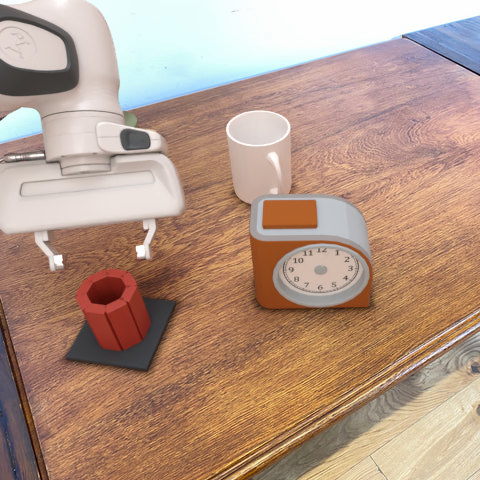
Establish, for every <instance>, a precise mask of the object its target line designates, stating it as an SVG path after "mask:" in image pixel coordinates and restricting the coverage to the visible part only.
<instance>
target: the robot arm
mask: <svg viewBox="0 0 480 480" xmlns="http://www.w3.org/2000/svg"><path fill="white" fill-rule="evenodd" d="M105 18H106V17H105V16H104V15H103V13H102V12H101V11H100V10H99V8H97V7H96V6H95V5H94V4H92V3H91V2H89V1H87V0H30V1H26V2H23V3H15V4H2V3H0V122H1V121H2V120H3V119H5V118H6V117H7V116H8V115H10V114H12V113H14V112H16V111H18V110H20V109H21V108H23V109H24V108H25V109H33V110H35V111H36V112H37V113H38V114H39V117H40V124H41V132H42V140H43V147H44V149H39V150H37V149H36V150H29V151H24V152H8V153H4V154H3V157H1V158H0V231H1V232H2V233H3V234H4V235H7V236H20V235H30V234H34V241H35V244H36V245H37V246H38V248H39V249H40V250H41V251H42V252H43V253H44V255H45V256H46V257H48V264H49V270H50V272H52V273H53V272H61V271H68V270H69V268H70V267H69V266H70V265H69V262H68V261H69V258H68V254H67V253H66V254H60V253H59V251H58V250H57V249H56V248H55V246H54V244H52V243H51V242H54V241H55V240H56V238H55V231H64V230H73V229H84V228H92V227H102V226H110V225H119V224H127V223H128V224H129V223H137V222H142V227H143V230H144V231H145V230H146V231H147V234H146V236H145V238H144V240H143V243H142V244H140V245H135V252H136V253H137V254H136V258H137V261H138V262H140V261H148V260H153V250H152V244H154V243H153V242H154V240H155V238H156V236H157V234H158V231H159V230H160V227H159V221H158V220H163V219H173V218H181V217H182V216H183V215H184V214H185V213H186V211H187V209H188V208H187V207H188V206H187V200H186V195H185V190H184V185H183V182H182V179H181V176H180V173H179V169H178V168H177V167H176V165H175V164H174V162H173V161H172V160H171V159H170V158H169V157H168V156H169V145H168V142H167V140H166V138H164V136H162V134H160V133H159V132H158V131H157V132H154V131H150V130H145V129H146V128H143V129H140V128H141V127H139V128H135V127H130V126H126V124H125V117H124V113H123V111H124V110H123V108H122V106H121V104H120V98H119V93H120V86H121V79H120V70H119V65H118V58H117V52H116V47H115V44H114V39H113V36H112V33H111V30H110V27H109V25H108V22H107V20H106V19H105Z"/></svg>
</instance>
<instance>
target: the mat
mask: <svg viewBox="0 0 480 480" xmlns="http://www.w3.org/2000/svg"><path fill="white" fill-rule="evenodd" d="M142 298H143V301H144V304H145V307H146V309H147V312H148V315H149V317H150V320H151V325H150V327H149V330H148V332H147V334H146V336H145V338H144V339H142V341H141V342H139V343H138V344H136V345H134V346H132V347H130V348H128V349H126V350H123V348H122V351H116V350H109V349H103V347H101V346H100V345H99V343H98V341H97V339H96V337H95V335H94V333H93V331H92V329H91V327H90V325H89V323H88V321H87V319H86V320H85V322H84V324H83V326H82V327H81V328H80V331H79V333H78V334H77V336H76V337H75V339H74V341H73V343H72V345H71V346H70V348H69V350H68V352H67V354H66V356H65V358H66V360H67V361H68V360H69V361H75V362H76V361H77V362H82V363H88V364H96V365H103V366H109V367H117V368H122V369H130V370H137V371H144V372H148V371H149V369H150V366H151V364H152V361H153V359H154V357H155V354H156V352H157V350H158V347H159V345H160V343H161V340H162V339H163V336H164V333H165V331H166V329H167V327H168V324H169V322H170V320H171V317H172V315H173V312H174V310H175V307H176V306H177V302H176V301H175V300H166V299H160V298H151V297H146V296H145V297H144V296H142Z"/></svg>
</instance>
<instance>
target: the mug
mask: <svg viewBox="0 0 480 480" xmlns="http://www.w3.org/2000/svg"><path fill="white" fill-rule="evenodd" d="M225 131H226V141H227V148H228V149H227V150H228V156H229V163H230V172H231V180H232V186H233V187H232V188H233V190H234V193H235V195H236V197H237V198H239V200H240V201H243V202H244V203H245V204H249V205H251V204H252V202H253V200H254V199H255V198H257V197H259V196H261V195H265V194H290V192H291V190H292V184H293V183H292V180H293V179H292V177H293V176H292V140H291V138H292V137H291V134H292V133H291V123H290V121H289V120H288V119H287V118H286V117H284V115H282V114H279V113H277V112H274V111H270V110H250V111H245V112H243V113H239V114H237V115H235V116H234V117H232V118H231V119H230V120H229V121H228V123H227V124H226V129H225Z"/></svg>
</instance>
